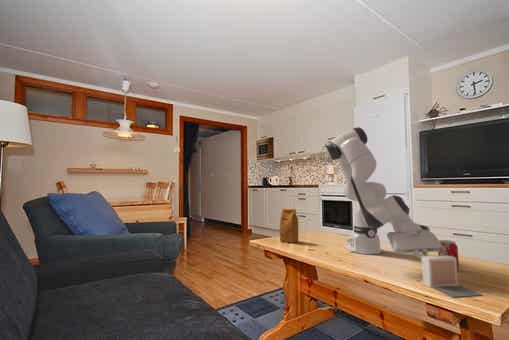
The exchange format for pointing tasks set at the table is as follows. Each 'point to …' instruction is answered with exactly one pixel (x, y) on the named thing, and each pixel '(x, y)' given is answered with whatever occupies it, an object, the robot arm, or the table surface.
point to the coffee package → (289, 226)
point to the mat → (457, 291)
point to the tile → (439, 271)
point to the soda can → (449, 250)
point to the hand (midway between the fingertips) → (425, 260)
